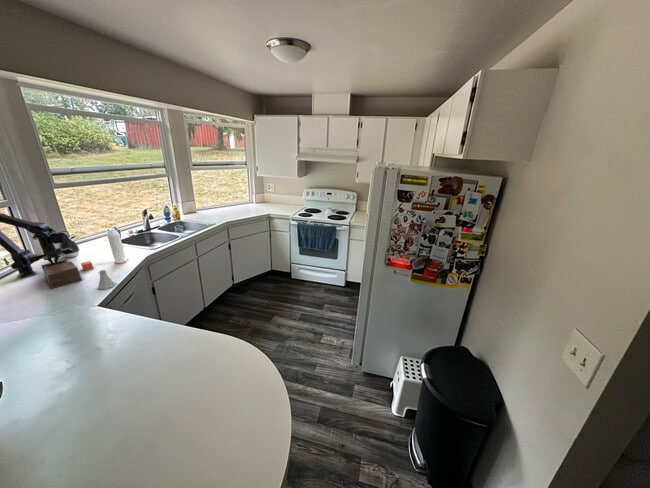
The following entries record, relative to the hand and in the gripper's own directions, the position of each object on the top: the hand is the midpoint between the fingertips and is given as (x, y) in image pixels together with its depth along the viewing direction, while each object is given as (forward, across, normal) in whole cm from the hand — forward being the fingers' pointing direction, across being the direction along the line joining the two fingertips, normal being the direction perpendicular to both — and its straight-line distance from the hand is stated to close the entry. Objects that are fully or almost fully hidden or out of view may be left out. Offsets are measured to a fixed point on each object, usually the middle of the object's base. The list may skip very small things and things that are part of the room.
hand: (55, 266), depth 159 cm
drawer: (+3, 0, -6) cm, 7 cm away
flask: (+4, +13, -45) cm, 47 cm away
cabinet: (+4, 0, -17) cm, 18 cm away
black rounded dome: (+4, +12, +28) cm, 30 cm away
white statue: (+4, +30, -11) cm, 32 cm away
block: (+4, +13, -8) cm, 16 cm away
